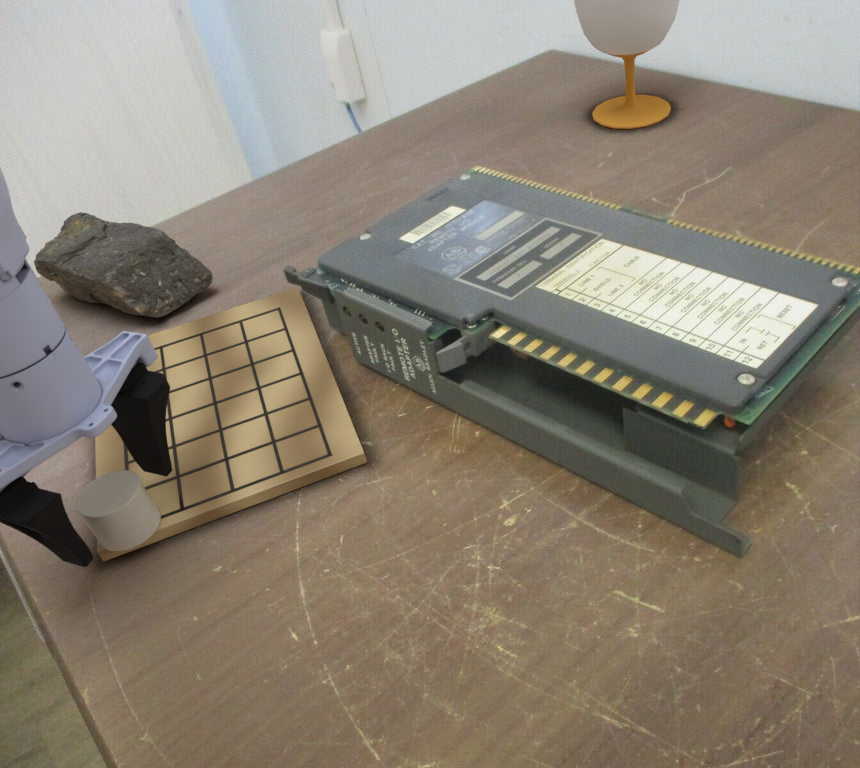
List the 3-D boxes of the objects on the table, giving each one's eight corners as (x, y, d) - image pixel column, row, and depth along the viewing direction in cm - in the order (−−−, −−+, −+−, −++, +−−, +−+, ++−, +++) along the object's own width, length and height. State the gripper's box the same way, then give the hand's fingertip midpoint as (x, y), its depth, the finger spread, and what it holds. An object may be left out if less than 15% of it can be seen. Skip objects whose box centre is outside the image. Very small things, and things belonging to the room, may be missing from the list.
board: (103, 562, 54) (96, 551, 54) (98, 361, 72) (92, 352, 71) (367, 462, 58) (364, 451, 57) (301, 295, 76) (297, 285, 75)
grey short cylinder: (100, 561, 53) (75, 526, 51) (98, 518, 56) (74, 484, 54) (164, 536, 54) (142, 501, 52) (158, 496, 57) (137, 461, 55)
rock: (-4, 289, 74) (47, 208, 80) (46, 335, 80) (91, 257, 85) (159, 286, 70) (202, 200, 75) (201, 335, 75) (238, 252, 81)
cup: (576, 137, 93) (562, -26, 82) (584, 95, 102) (572, -57, 91) (683, 131, 91) (684, -38, 80) (682, 88, 100) (682, -69, 89)
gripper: (-46, 453, 39) (87, 621, 47) (155, 280, 49) (235, 445, 57) (-145, 429, 41) (-1, 593, 50) (66, 268, 51) (156, 429, 60)
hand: (120, 513), depth 54 cm, fingers open, 7 cm apart
